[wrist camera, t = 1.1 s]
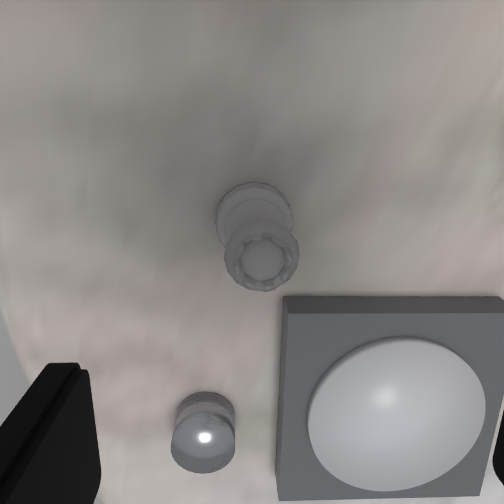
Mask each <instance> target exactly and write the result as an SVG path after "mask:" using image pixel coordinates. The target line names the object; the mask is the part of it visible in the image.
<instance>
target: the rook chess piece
mask: <svg viewBox="0 0 504 504" xmlns="http://www.w3.org/2000/svg"><path fill="white" fill-rule="evenodd" d="M292 226H293V220H292V215H291V210H290V206H289V204H288V202H287V201H286V200H285V198H284V197H283V195H282V194H281V193H280V192H279V191H277V190H275V189H274V188H272V187H271V186H269V185H266V184H260V183H254V182H252V183H248V184H244V185H240V186H237V187H236V188H234V189H233V190H232V191H230V192H229V193H227V194H226V195H225V196H224V198H223V200H222V201H221V203H220V205H219V206H218V208H217V215H216V227H217V231H218V235H219V238H220V241H221V242H222V244H223V245H224V246H225V254H224V260H225V264H226V268H227V271H228V273H229V274H230V275H231V277H232V278H233V279H234V280H235V282H236V283H238V284H240V285H242V286H243V287H245V288H247V289H250V290H257V291H264V292H266V291H271V290H275V288H278V287H279V286H280V285H282V284H283V283H286V281H288V280H289V279H290V277H291V276H292V274H293V273H294V272H295V270H296V269H297V265H298V260H299V255H300V254H299V249H298V244H297V240H296V239H295V238H294V236H293V235H292V233H291V231H292Z"/></svg>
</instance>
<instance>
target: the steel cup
mask: <svg viewBox="0 0 504 504" xmlns="http://www.w3.org/2000/svg"><path fill="white" fill-rule="evenodd" d="M234 452H235V412H234V409H233V406H232V404H231V403H230V402H229V401H228V400H227V399H226V398H225V397H223V396H222V395H220V394H217V393H214V392H198V393H195V394H192V395H190V396H188V397H187V398H186V399H184V400H183V401H182V403H181V404H180V406H179V407H178V410H177V415H176V421H175V426H174V431H173V437H172V442H171V453H172V456H173V458H174V460H175V461H176V462H177V464H178V465H180V466H181V467H182V468H184V469H186V470H188V471H190V472H194V473H212V472H215V471H218V470H220V469H222V468H223V467H225V466H226V465H227V464H228V463H229V462H230V461H231V459H232V458H233V455H234Z"/></svg>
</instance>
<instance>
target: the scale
mask: <svg viewBox="0 0 504 504" xmlns="http://www.w3.org/2000/svg"><path fill="white" fill-rule="evenodd" d="M503 395H504V300H503V299H501V298H500V297H283V318H282V340H281V361H280V382H279V403H278V425H277V446H276V467H275V474H276V483H277V491H278V499H279V501H300V500H340V499H380V498H421V497H461V496H479V495H480V491H481V487H482V483H483V478H484V474H485V470H486V466H487V462H488V458H489V453H490V449H491V445H492V441H493V437H494V433H495V428H496V424H497V420H498V416H499V412H500V408H501V403H502V399H503Z"/></svg>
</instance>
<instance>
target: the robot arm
mask: <svg viewBox="0 0 504 504" xmlns="http://www.w3.org/2000/svg"><path fill="white" fill-rule="evenodd" d="M492 461H493V467H494V471H495V473H496V475H497V477H498V478H499V480H500V481H501V482H502V484H503V485H504V411H503V416H502V420H501V424H500V429H499V433H498V437H497V441H496V446H495V450H494V454H493V460H492ZM100 480H101V465H100V457H99V449H98V441H97V433H96V425H95V417H94V409H93V401H92V394H91V386H90V378H89V373H88V371H87V370H86V369H81V368H80V366H79V364H78V363H49V364H47V365H46V366H45V368H44V369H43V370H42V372H41V373H40V374H39V376H38V377H37V378H36V380H35V381H34V382H33V384H32V385H31V386H30V388H29V389H28V390H27V392H26V393H25V395H24V396H23V397H22V398H21V400H20V401H19V403H18V404H17V405H16V406H15V408H14V409H13V410H12V412H11V413H10V414H9V416H8V417H7V418H6V420H5V421H4V422H3V424H2V425H1V426H0V504H93V503H94V500H95V497H96V495H97V492H98V489H99V485H100Z"/></svg>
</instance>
